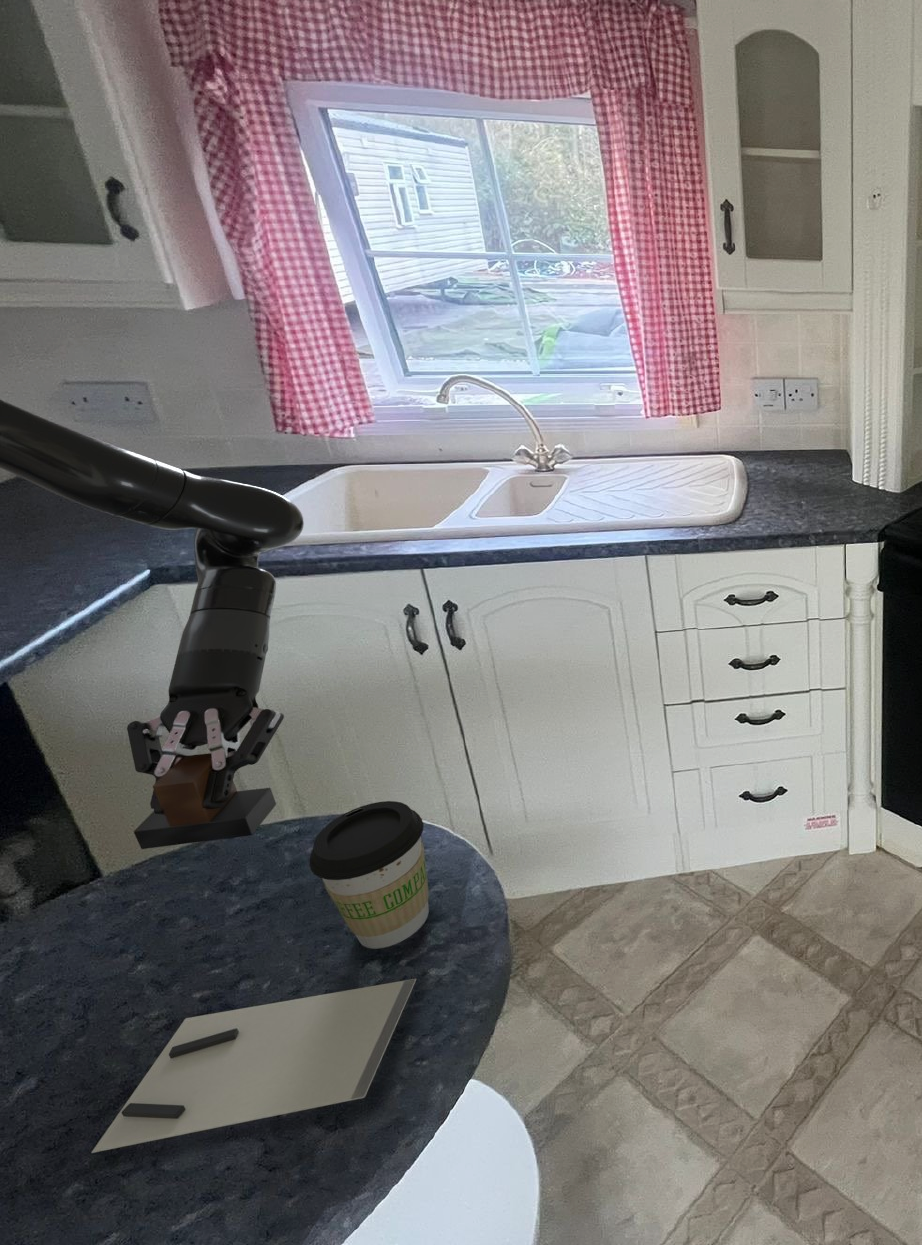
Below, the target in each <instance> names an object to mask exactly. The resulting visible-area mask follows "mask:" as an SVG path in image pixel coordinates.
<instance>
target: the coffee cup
mask: <svg viewBox="0 0 922 1245" xmlns="http://www.w3.org/2000/svg"><path fill="white" fill-rule="evenodd" d="M423 832H424V821H423V819H422V817H421V815H420V814H418V812H416V810H413V809H412V808H411V807H410V806H408V805H407V804H406V803H404V802H400V801H394V800H384V801H377V802H372V803H368V804H365V805H361V806H359V807H356V808H353V809H351V810H348V811H346V812H345V813H343V814H341V815H339V816H338V817H337V818H335V819H333V820H332V821H331V822H329V823H328V824H327V825H326V826H324V827H323V828H322V830H320V831H319V833H318V834H317V835H316V837H315V839H314V840H313V845H312V848H311V852H310V855H309V867H310V868H309V869H310V871H311V873H312V874H313V875H314V876H316V877H318V878H319V879H322V881H323V884H324V889H325V890H326V892H327V893H328V895H329V897H330V898H331V900H332V902H333V904H334V905H335V906H336V908H337V910H338V912H339V913H340V915H341V917H342V918H343V920H344V922H345V923H346V925H347V927H348V928H349V930H350V931H351V932H352V934H354V936H356V938H357V940H358V942H359V943H360V944H361V946H363V947H365V948H367V949H375V950H376V949H384V948H389V947H391V946H394V945H397V944H399V943H401V942H403V941H404V940H406V939H408V938H410V937H412V935H414V934H415V933H416V932H418V930H419V929H420V928H422V926H423V925H424V924H425V922H426V920H427V919H428V917H429V912H430V910H429V908H430V907H429V885H428V883H429V882H428V877H427V876H428V874H427V864H426V856H425V847H424V844H423V840H422V838H421V837H422V835H423Z"/></svg>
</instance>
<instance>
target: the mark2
mask: <svg viewBox="0 0 922 1245" xmlns="http://www.w3.org/2000/svg"><path fill="white" fill-rule="evenodd" d="M184 1111H185V1107H184V1105H164V1104H141V1103H130V1104H129V1105H128V1106H127V1107H126V1108H125V1109H124V1110H123V1111H122V1112H121V1113H122V1115H123V1116H126V1117H149V1118H172V1119H178V1118H179V1116H180V1115H181V1114H182V1113H183V1112H184Z"/></svg>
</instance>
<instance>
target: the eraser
mask: <svg viewBox="0 0 922 1245" xmlns="http://www.w3.org/2000/svg"><path fill="white" fill-rule="evenodd" d="M213 771H214V769H213V768H212V756H211V752H209V753H199V754H196V755H189V756H183V757H182V758H181V759H180V760H179V761H178V762H177V763H176V764H175V765H174V766H173V767H172V768H171V769H170V770H169V771H168V772H167V773H166V774H164V775H163V776H162V777H161V778H160V779H159V780H158V781H157V782H156V781H155V782H156V783H155V782H154V784H153V785H152V789H153V790H154V791H155V793H156V796H157V798H158V800H159V803H160V805H161V807H162V810H163V812H164V814H165V815H163V814H155V813H154V810H153V811H152V812H151V813H150V814H149V815H148V816H147V817H146V818H145V819H144V820H143V821H142V822H141V823H140V824H139V825H138V826H137V827H136V829H134V830H133V834H134V836H135V838H136V841H137V843H138V845H139V847H140V849H141V850H147V849H155V848H164V847H170V846H171V847H172V846H177V845H186V844H193V843H202V842H210V841H218V840H227V839H235V838H243V837H249V836H253V834H254V833H255V832H256V831H257V829H258V828H259V827H260V826H261V824H262V823H263V822H264V821H265V819H266V818H267V817H268V816H269V815H270V813H271V812H272V811H273V809H274V808H275V807H276V806H277V802H276V798H275V795H274V793H273V790H272V788H271V787H263V788H254V789H245V790H238V789H237V786H236V784H235V781H234V780H233V783H232V787H231V793H230V797H229V799H228V800H227V802H224V803H223V806H222V807H221V808H217V809H206V808H203V807H202V803H203V798H204V794H205V789H206V784H207V780H208V775H209V772H213Z"/></svg>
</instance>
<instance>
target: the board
mask: <svg viewBox="0 0 922 1245" xmlns="http://www.w3.org/2000/svg"><path fill="white" fill-rule="evenodd" d="M416 981H417V978H411V979H405V980H399V981H394V982H388V983H387V982H386V983H382V984H377V985H370V986H363V987H359V988H353V989H352V988H351V989H348V990H342V991H336V992H330V993H323V994H319V995H318V994H317V995H312V996H307V997H306V996H305V997H302V998H295V999H290V1000H284V1001H278V1002H273V1003H266V1004H261V1005H254V1006H249V1007H243V1008H237V1009H233V1010H232V1009H231V1010H226V1011H220V1012H214V1013H208V1014H203V1015H198V1016H197V1015H196V1016H192V1017H186V1018H184V1020H183V1021H182V1023H181V1024H180V1025H179V1027H178V1028H177V1030H176V1031H175V1033H174V1034H173V1036H172V1037H171V1039H169V1041H168V1043H167V1044H166V1045H165V1047H164V1048H163V1050H162V1051H161V1053H160V1054H159V1056H158V1057H157V1058H156V1060H155V1061H154V1063H153V1064H152V1066H151V1067H150V1068H149V1070H147V1072H146V1074H145V1075H144V1077H143V1078H142V1079H141V1081H140V1082H139V1084H138V1085H137V1087H136V1088H135V1089H134V1091H133V1093H132V1094H131V1095H130V1097H129V1098H128V1100H127V1101H126V1103H125V1104H124V1105H123V1107H122V1108H121V1110H120V1111H119V1112H118V1114H117V1115H116V1116H115V1118H114V1120H113V1121H112V1123H111V1124H110V1125H109V1127H108V1128H107V1129H106V1131H105V1132H104V1133H103V1135H102V1136H101V1138H100V1139H99V1141H98V1142H97V1144H96V1145H95V1146H94V1148H93V1149H92V1150H91V1153H90V1154H94V1153H100V1152H104V1151H108V1150H114V1149H118V1148H124V1147H128V1146H129V1147H130V1146H134V1145H137V1144H138V1145H139V1144H143V1143H144V1144H145V1143H148V1142H153V1141H158V1140H163V1139H168V1138H172V1137H173V1138H174V1137H177V1136H183V1135H188V1134H193V1133H198V1132H202V1131H207V1130H212V1129H217V1128H222V1127H227V1126H232V1125H236V1124H241V1123H248V1122H252V1121H256V1120H262V1119H267V1118H271V1117H276V1116H280V1115H286V1114H291V1113H296V1112H301V1111H306V1110H311V1109H316V1108H321V1107H325V1106H330V1105H336V1104H342V1103H345V1102H350V1101H355V1100H361V1099H364V1098H366V1096H367V1094H368V1091H369V1089H370V1087H371V1084H372V1082H373V1080H374V1077H375V1075H376V1073H377V1070H378V1068H379V1067H380V1063H381V1062H382V1058H383V1056H384V1054H385V1052H386V1050H387V1047H388V1045H389V1043H390V1041H391V1038H392V1036H393V1034H394V1032H395V1030H396V1027H397V1025H398V1023H399V1020H400V1018H401V1016H402V1013H403V1011H404V1009H405V1007H406V1004H407V1002H408V1000H409V997H410V995H411V993H412V990H413V989H414V986H415V984H416ZM235 1028H237V1029H238V1031H239V1033H238V1035H237V1038H236V1039H235V1040H231V1041H228V1042H225V1043H221V1044H218V1045H215V1046H211V1047H208V1048H205V1049H201V1050H198V1051H194V1052H191V1053H188V1054H184V1055H181V1056H178V1057H174V1058H170V1056H169V1053H170V1051H171V1049H172V1047H174V1046H177V1045H181V1044H184V1043H188V1042H191V1041H195V1040H198V1039H201V1038H205V1037H208V1036H212V1035H215V1034H218V1033H222V1032H225V1031H229V1030H232V1029H235ZM130 1103H141V1104H164V1105H184V1107H185V1111H184V1112H183V1113H182V1114H181V1115H180V1116H179V1118H178V1119H172V1118H149V1117H126V1116H123V1115H122V1113H121V1112H122V1111H123V1110H124V1109H125V1108H126V1107H127V1106H128V1105H129V1104H130Z"/></svg>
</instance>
